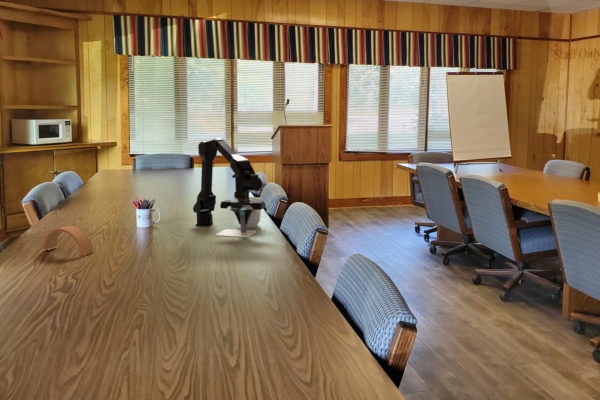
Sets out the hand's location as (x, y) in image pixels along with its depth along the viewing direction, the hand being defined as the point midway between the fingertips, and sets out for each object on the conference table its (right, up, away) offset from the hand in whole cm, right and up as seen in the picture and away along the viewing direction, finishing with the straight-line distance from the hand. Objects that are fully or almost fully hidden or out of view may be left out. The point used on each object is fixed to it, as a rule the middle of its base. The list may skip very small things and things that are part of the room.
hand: (243, 224), depth 236 cm
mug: (+2, -2, +16) cm, 16 cm away
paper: (-3, -4, +3) cm, 6 cm away
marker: (0, -3, +1) cm, 4 cm away
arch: (-66, -10, -24) cm, 70 cm away
